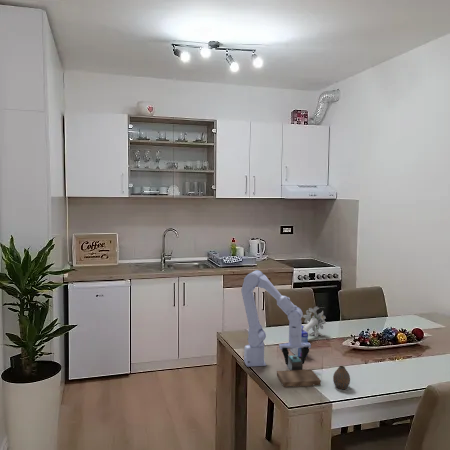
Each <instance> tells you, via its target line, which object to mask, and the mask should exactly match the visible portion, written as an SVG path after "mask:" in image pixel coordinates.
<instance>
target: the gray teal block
mask: <svg viewBox="0 0 450 450" xmlns="http://www.w3.org/2000/svg"><path fill="white" fill-rule="evenodd" d="M289 356H290V355H288V365H286V367H287V369H288V370H304V369H303V366H304V364H303V362H302V361H301V362H292V361H291V360H290V358H289ZM297 357H298V356H297ZM298 358H299V359H300V360H301V357H298Z"/></svg>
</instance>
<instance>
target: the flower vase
mask: <svg viewBox="0 0 450 450" xmlns="http://www.w3.org/2000/svg"><path fill="white" fill-rule="evenodd" d="M319 309H320V307H318V305H317V306H314V307H313V308H312V307H309V308H308V309H307V310H306V311H305V313H306V314H303V316H302V318H304V323H305V325H303V326H304V327H303V330H304V331H306V332H307V333H308V334H309V330H310V329H311V330H312V331H313V332H311V333H310V334H309V336H314V337H316V338H318V337H319V336H321V337H323V336H324V335H323V334H322V333H321V332H319V330H323V329H324V325H326V324H327V321H326V320H325V319H327V318H326V315H324V310H322V311H321V312H319V313H317V311H318V310H319ZM312 314H313V315H312Z"/></svg>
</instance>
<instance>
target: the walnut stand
mask: <svg viewBox="0 0 450 450" xmlns="http://www.w3.org/2000/svg"><path fill="white" fill-rule="evenodd" d="M276 377H277V378H278V380H279V381H280V383H281V385H282V384H283V385H282V387H284V388H288V387H287V386H293V387H307V386H309V387H310V386H312V387H313V386H321V384H322V383H321V382H322V380H321V379H320V378H319V376H318V375H317V374H316V373H315V372H314V371H313V370H312V368H311V369H303V370H289V369H288V370H276Z"/></svg>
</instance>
